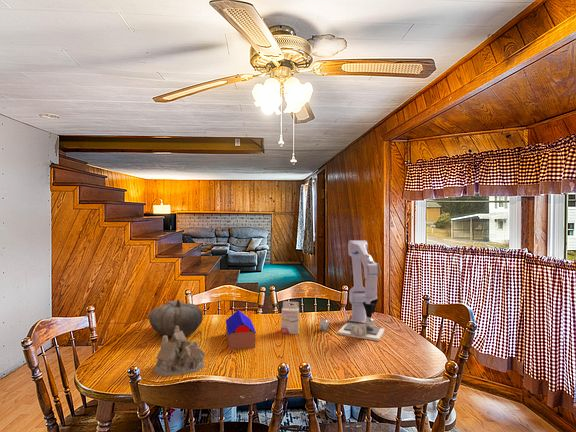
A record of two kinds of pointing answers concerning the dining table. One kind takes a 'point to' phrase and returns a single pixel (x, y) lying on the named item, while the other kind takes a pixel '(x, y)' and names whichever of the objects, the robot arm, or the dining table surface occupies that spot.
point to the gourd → (175, 318)
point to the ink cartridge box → (290, 318)
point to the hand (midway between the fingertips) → (370, 314)
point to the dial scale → (361, 331)
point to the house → (240, 331)
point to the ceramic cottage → (178, 356)
